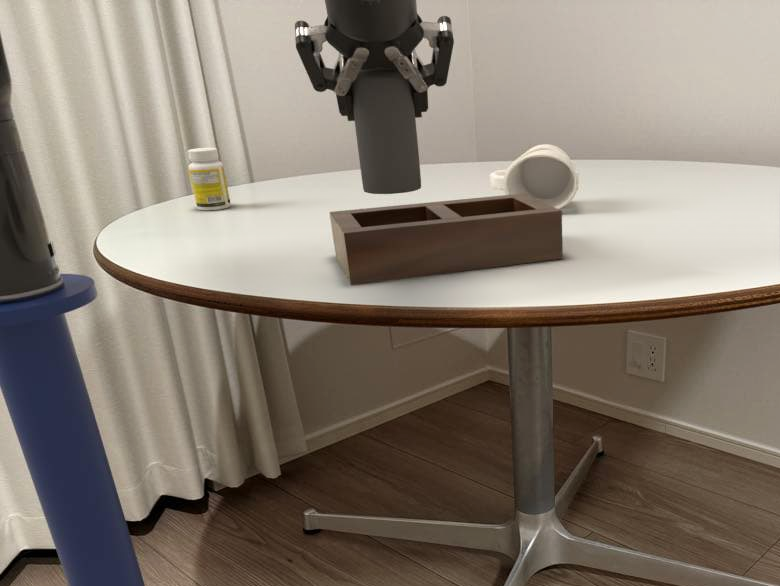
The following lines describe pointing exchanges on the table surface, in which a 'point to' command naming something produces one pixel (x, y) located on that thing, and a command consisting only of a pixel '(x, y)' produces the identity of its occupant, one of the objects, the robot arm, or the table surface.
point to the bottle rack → (445, 237)
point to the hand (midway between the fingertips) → (384, 112)
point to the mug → (540, 176)
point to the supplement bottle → (208, 179)
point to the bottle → (386, 131)
